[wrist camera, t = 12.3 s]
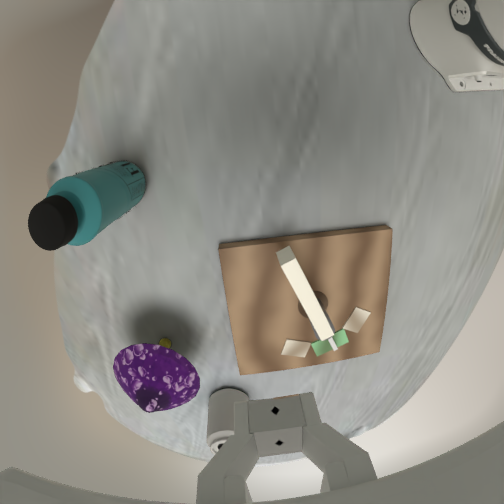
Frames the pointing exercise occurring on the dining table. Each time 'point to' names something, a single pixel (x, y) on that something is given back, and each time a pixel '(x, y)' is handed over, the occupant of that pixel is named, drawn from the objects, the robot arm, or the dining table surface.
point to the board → (289, 306)
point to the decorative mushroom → (156, 376)
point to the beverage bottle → (85, 204)
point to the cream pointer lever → (307, 297)
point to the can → (222, 416)
